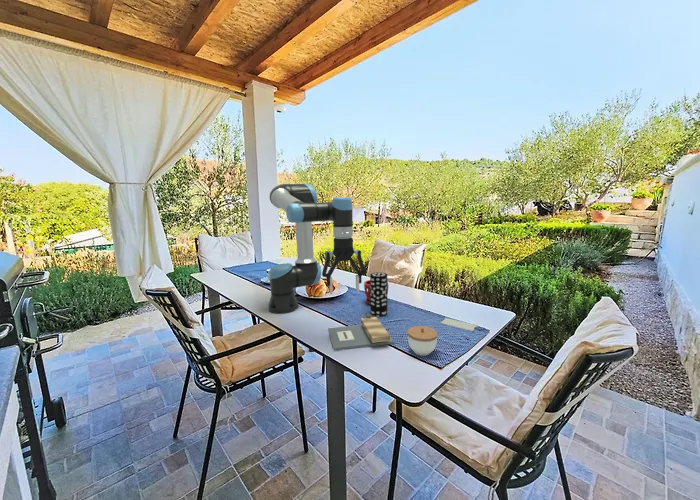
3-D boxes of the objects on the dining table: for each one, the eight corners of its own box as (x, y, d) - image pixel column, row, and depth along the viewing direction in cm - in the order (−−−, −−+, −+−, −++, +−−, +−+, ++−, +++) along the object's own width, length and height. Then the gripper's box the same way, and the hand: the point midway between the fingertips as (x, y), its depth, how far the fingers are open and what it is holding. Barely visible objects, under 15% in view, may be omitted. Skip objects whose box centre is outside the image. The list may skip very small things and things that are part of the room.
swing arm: (359, 320, 133) (359, 313, 132) (374, 318, 134) (374, 312, 134) (372, 342, 112) (372, 334, 111) (389, 340, 113) (390, 332, 113)
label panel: (328, 329, 130) (328, 325, 129) (380, 324, 134) (380, 320, 134) (334, 350, 112) (333, 345, 111) (394, 343, 116) (394, 338, 116)
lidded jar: (404, 345, 115) (404, 322, 113) (430, 343, 116) (431, 321, 114) (412, 360, 104) (412, 335, 103) (441, 358, 105) (442, 333, 104)
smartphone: (445, 317, 140) (478, 325, 130) (445, 318, 140) (478, 326, 130) (439, 322, 134) (473, 331, 125) (439, 324, 134) (473, 332, 125)
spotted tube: (386, 317, 142) (386, 277, 138) (369, 316, 144) (369, 276, 140) (387, 310, 150) (388, 272, 146) (371, 309, 152) (371, 272, 148)
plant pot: (392, 301, 164) (392, 280, 162) (381, 308, 153) (381, 286, 151) (371, 297, 171) (371, 277, 169) (359, 304, 160) (359, 283, 158)
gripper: (314, 240, 109) (317, 297, 112) (373, 237, 113) (374, 292, 117) (313, 237, 116) (315, 291, 120) (368, 234, 120) (369, 287, 124)
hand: (344, 292), depth 118 cm, fingers open, 10 cm apart
